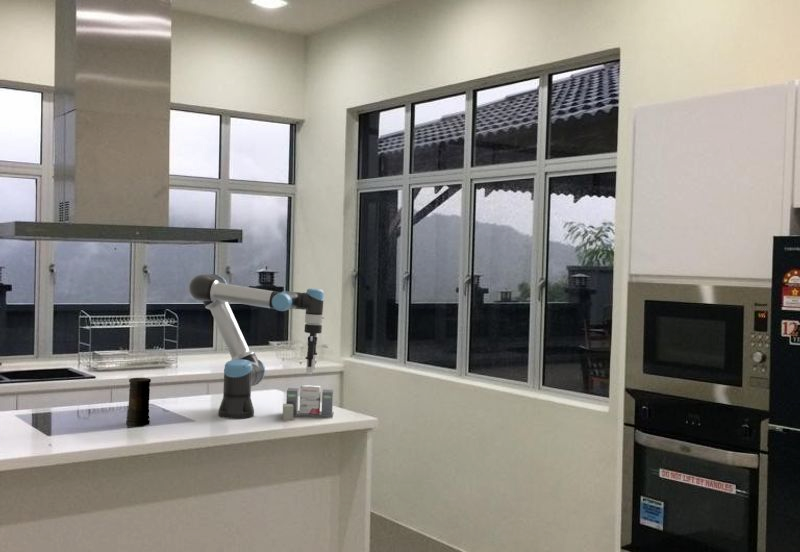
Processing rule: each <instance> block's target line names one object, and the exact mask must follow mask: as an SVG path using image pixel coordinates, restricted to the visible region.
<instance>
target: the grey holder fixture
mask: <svg viewBox="0 0 800 552" xmlns="http://www.w3.org/2000/svg"><path fill="white" fill-rule="evenodd" d="M299 390H300V388H296V387H288V388H287V390H286V403H285V404H293V406H294V408H293V417H303V418H305V417H306V418H326V417H334V413H335V412H334V411H333V410H334V407H333V406H334V389H325V388H324V389H322V395H321V397H322V398H321V411H320V412H319V414H309V413H300V410H298V409H299Z"/></svg>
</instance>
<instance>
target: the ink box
mask: <svg viewBox="0 0 800 552" xmlns="http://www.w3.org/2000/svg"><path fill="white" fill-rule="evenodd" d="M321 388H322V386H321V385H308V384H307V385H306V384H302V385H300V389H299V390H300V393H299V394H300V395H299V396H300V397H299V411H300V413H309V414H319V412H320V410H321V408H320V407H321V390H322V389H321Z"/></svg>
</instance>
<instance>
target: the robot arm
mask: <svg viewBox="0 0 800 552" xmlns="http://www.w3.org/2000/svg"><path fill="white" fill-rule="evenodd" d="M188 289H189V290H188V291H189V293H190V295H191V296H192V298H193V299H195V300H197V301H199V302H202V303H203V305H204V308H205V309H207V310H210V312H211V315H212V317H213V319H214V322H215V324H216V326H217V328H218V330H219V333H220V335H221V337H222V339H223V341H224V344H225V346H226V348H227V350H228V352H229V355H230V358H231V360H229V361H227V362H226V363H225V364H224V369H223V396H222V400H221V402H220V405H219V407H218V415H217V416H219V417H221V418H226V419H238V420H239V419H247V418H251V417H254V416H255V409H254V405H253V402H252V397H251V396H252V387H254V386H256V385H259V383H261V382H262V381H263V380H264V378H265V375H266V367H265V365H264V363H263V361H261V360H259V359H258V357H257V356H256V353H255V352H254V351H252V350H250V348H249V346H248V344H247V341H246V339H245V337H244V335H243V333H242V329H240V325H239V323H238V321H237V319H236V317H235V314H234V313H233V310H232V308H231V306H230V304H229V303H234V304H241V305H242V304H243V305H248V306H254V307H259V308H265V309H266V308H267V309H273V310H276V311H279V312H286V311H289V310H305V316H304V323H305V324H304V333H306V334H309V336H308V337H307V354H306V356H305V360H306V369H305V370H306V371H305V374H306V375H313V371H314V370H315V368H316V367H315V366H316V356H317V355H318V352H317V341H318V336H317V334H321V333H322V329H323V325H322V323H323V320H324V316H323V311H324V301H325V299H324V296H325V295H324V290H323V289H320V288H308V289H306V292H298V291H291V290H289V291H288V290H287V291H286V290H285V291H275V290H268V289H263V288H255V287H249V286H243V285H236V284H230V283H227V280H226V279H225V278H224V277H223V276H220V275H218V274H215V273H209V274H199V275H196V276H195V277H193V278H192V280H190V283H189V286H188Z"/></svg>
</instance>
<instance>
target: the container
mask: <svg viewBox="0 0 800 552" xmlns="http://www.w3.org/2000/svg"><path fill="white" fill-rule="evenodd" d="M128 382H129V389H128V391H129V392H128V393H129V394H128V409H127V417H126V419H127V420H126V422H125V424H126V425H127V426H132V427H143V426H144V427H145V426H148V425H150V423H151V422H150V395H151V394H150V393H151V389H150V387H151V383H152V379H151V378H148V377H133V378H128Z"/></svg>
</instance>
